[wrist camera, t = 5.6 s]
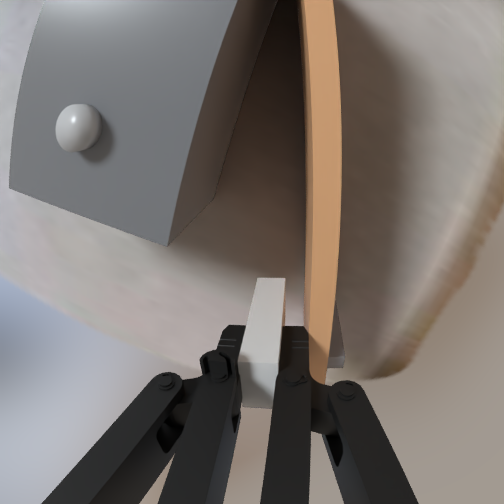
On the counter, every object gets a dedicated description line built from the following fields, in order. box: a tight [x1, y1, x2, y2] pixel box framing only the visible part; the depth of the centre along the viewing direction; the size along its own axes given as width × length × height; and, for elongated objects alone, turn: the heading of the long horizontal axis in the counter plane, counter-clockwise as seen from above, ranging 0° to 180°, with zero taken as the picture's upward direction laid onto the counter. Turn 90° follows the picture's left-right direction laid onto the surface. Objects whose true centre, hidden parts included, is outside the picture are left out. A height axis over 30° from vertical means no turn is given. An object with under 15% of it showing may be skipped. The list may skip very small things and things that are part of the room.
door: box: [297, 0, 345, 385], centre depth 14 cm, size 24×2×8 cm, turn 3°
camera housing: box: [9, 0, 277, 247], centre depth 12 cm, size 18×10×9 cm, turn 163°
